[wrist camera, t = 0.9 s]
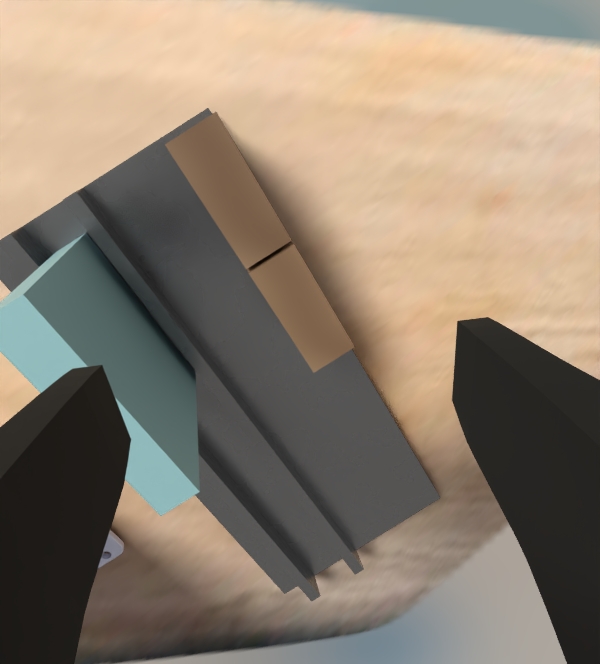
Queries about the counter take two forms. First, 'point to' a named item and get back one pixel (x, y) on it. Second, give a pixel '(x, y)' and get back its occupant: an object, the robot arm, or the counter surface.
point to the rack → (242, 376)
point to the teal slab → (110, 362)
